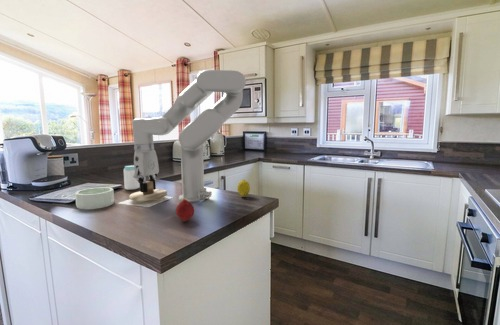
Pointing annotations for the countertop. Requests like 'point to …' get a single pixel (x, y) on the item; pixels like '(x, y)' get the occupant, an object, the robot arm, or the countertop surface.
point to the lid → (148, 193)
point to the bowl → (94, 198)
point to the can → (130, 178)
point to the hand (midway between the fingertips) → (148, 190)
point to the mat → (145, 202)
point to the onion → (185, 210)
